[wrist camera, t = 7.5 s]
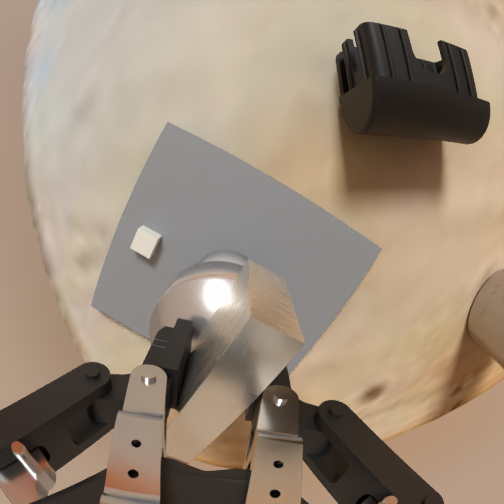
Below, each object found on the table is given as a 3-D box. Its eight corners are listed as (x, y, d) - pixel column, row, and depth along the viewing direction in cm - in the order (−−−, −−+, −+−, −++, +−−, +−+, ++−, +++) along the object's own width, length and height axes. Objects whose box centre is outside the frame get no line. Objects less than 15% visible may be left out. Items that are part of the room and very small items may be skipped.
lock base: (375, 244, 21) (415, 272, 15) (271, 384, 25) (276, 433, 19) (172, 124, 18) (142, 108, 12) (96, 299, 22) (62, 336, 16)
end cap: (339, 139, 19) (380, 129, 12) (328, 53, 17) (359, 14, 10) (442, 144, 19) (496, 145, 12) (431, 69, 17) (479, 51, 10)
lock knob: (204, 218, 14) (165, 270, 7) (316, 283, 15) (364, 369, 8) (134, 352, 16) (93, 436, 9) (227, 396, 17) (222, 486, 10)
